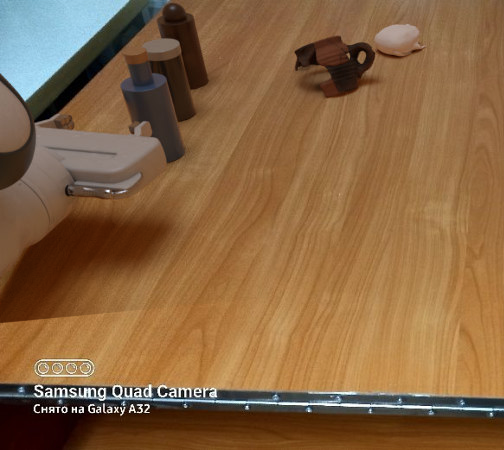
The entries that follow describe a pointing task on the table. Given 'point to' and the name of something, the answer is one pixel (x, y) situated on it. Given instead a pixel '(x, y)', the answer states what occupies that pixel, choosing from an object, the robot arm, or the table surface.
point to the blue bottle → (151, 102)
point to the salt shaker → (172, 74)
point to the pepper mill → (184, 41)
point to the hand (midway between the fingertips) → (105, 123)
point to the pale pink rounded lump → (398, 39)
